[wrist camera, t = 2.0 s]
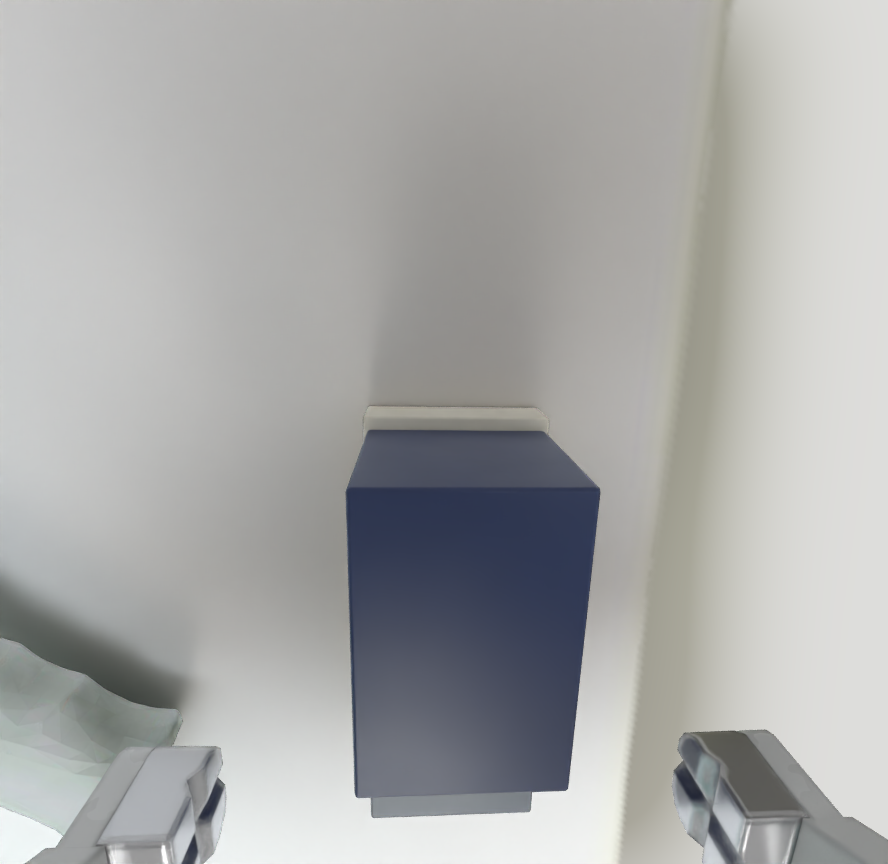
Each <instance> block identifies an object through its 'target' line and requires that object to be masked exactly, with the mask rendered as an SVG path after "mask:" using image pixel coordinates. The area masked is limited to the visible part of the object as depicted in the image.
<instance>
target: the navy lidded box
mask: <svg viewBox="0 0 888 864" xmlns="http://www.w3.org/2000/svg"><path fill="white" fill-rule="evenodd" d="M548 429H549V418H548V417H547V416H546V415H545V414H543V413H542V412H541V411H540V410H539V409H538V408H507V407H410V406H369V407H368V408H367V410H366V412H365V415H364V417H363V445H362V448H361V451H360V453H359V456H358V459H357V462H356V464H355V467H354V470H353V473H352V475H351V478H350V481H349V484H348V486H347V489H346V520H347V553H348V586H349V619H350V652H351V685H352V718H353V751H354V784H355V795H356V797H357V798H371V815H372V817H373V818H384V817H411V816H438V815H464V814H491V813H517V812H530V810H531V799H532V792H546V791H566V790H567V789H568V784H569V774H570V765H571V756H572V747H573V738H574V729H575V720H576V710H577V701H578V692H579V683H580V674H581V665H582V656H583V646H584V637H585V628H586V619H587V610H588V601H589V591H590V582H591V573H592V564H593V555H594V546H595V537H596V527H597V518H598V509H599V500H600V489H599V487H598V486H597V485H596V484H595V483H594V482H593V481H592V480H591V479H590V478H589V477H588V476H587V475H586V474H585V473H584V472H583V471H582V470H581V469H580V468H579V467H578V466H577V465H576V464H575V463H574V462H573V461H572V460H571V459H570V457H569V456H568V455H567V454H566V453H565V452H564V451H563V450H562V449H561V448H560V447H559V446H558V445H557V444H556V443H555V442H554V441H553V440H552V439H551V438H550V437H549V436H548Z"/></svg>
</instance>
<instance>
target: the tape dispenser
mask: <svg viewBox="0 0 888 864" xmlns="http://www.w3.org/2000/svg"><path fill="white" fill-rule="evenodd" d="M182 722H183V720H182V717H181V714H180V712H179V711H178V710H177V709H167V708H154V707H150V706H146V705H142V704H138V703H133V702H130V701H128V700H126V699H124V698H122V697H120V696H118V695H116V694H114V693H112V692H110V691H108V690H106V689H105V688H103V687H102V686H101V685H99V684H98V683H96V682H95V681H94V680H92V679H91V678H90V677H88V676H87V675H86V674H82V673H79V672H75V671H72V670H68V669H65V668H62V667H60V666H58V665H56V664H53V663H51V662H49V661H47V660H44V659H42V658H40V657H38V656H37V655H36V654H34V653H33V652H31V651H30V650H29V649H27V648H26V647H25V646H23V645H22V644H21V643H19V642H15V641H11V640H7V639H4V638H1V637H0V807H3V808H5V809H8V810H10V811H13V812H15V813H18V814H21V815H23V816H26V817H28V818H30V819H32V820H35V821H37V822H39V823H41V824H43V825H46V826H48V827H50V828H52V829H54V830H56V831H57V832H59V833H60V834H61V835H62V836H64V834H65V833H66V831H67V830H68V828H69V827H70V825H71V824H72V822H73V821H74V819H75V818H76V816H77V815H78V813H79V812H80V810H81V809H82V807H83V806H84V804H85V803H86V801H87V800H88V798H89V797H90V795H91V794H92V792H93V791H94V789H95V788H96V786H97V785H98V783H99V782H100V780H101V779H102V777H103V776H104V774H105V773H106V771H107V770H108V768H109V767H110V765H111V764H112V762H113V761H114V759H115V758H116V756H117V755H118V754H119V753H120V752H122V751H123V750H124V749H125V748H126V747H157V746H173V744H174V741H175V739H176V736H177V734H178V731H179V729H180V726H181V724H182Z"/></svg>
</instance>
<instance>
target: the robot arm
mask: <svg viewBox="0 0 888 864" xmlns="http://www.w3.org/2000/svg"><path fill="white" fill-rule="evenodd" d="M678 752H679V754H680V755H681V757H682V759H683V761H682V762H681V763H680V764H679V765H678V767H677V768H676V769H675V770H674V774H673V783H672V789H673V796H674V802H675V806H676V809H677V812H678V814H679V818H680V820H681V822H682V824H683V826H684V828H685V830H686V832H687V834H688V835H689V836H690V837H692V838H693V839H694V840H695V841H696V842H698V843H699V844H700V845H701V846H702V847H703V848H704V850H703V859H702V863H703V864H888V840H887V839H886V838H884V837H883V836H881V835H879V834H878V833H876V832H875V831H873V830H872V829H870V828H868V827H867V826H865V825H864V824H862V823H861V822H859V821H857V820H856V819H854V818H853V817H843V816H842V815H841V814H840V813H839V811H838V810H837V809H836V808H835V807H834V806H833V804H832V803H831V802H830V801H829V800H828V798H827V797H826V796H825V795H824V794H823V793H822V791H821V790H820V789H819V788H818V787H817V785H816V784H815V783H814V782H813V781H812V779H811V778H810V777H809V776H808V775H807V774H806V772H805V771H804V770H803V769H802V768H801V767H800V765H799V764H798V763H797V762H796V760H795V759H794V758H793V757H792V756H791V754H790V753H789V752H788V751H787V750H786V749H785V747H784V746H783V745H782V744H781V743H780V741H779V740H778V739H777V738H776V737H775V736H774V735H773V734H771V733H770V732H769V731H767V730H745V731H715V732H693V733H692V732H691V733H684V734H683V735H682V736H681V738H680V739H679V745H678ZM222 765H223V761H222V754H221V748H219V747H216V746H157V747H126V748H125V749H124V750H123V751H122V752H120V753H119V754H118V755H117V756H116V758H115V759H114V761H113V762H112V764H111V765H110V767H109V768H108V770H107V771H106V773H105V774H104V776H103V777H102V779H101V780H100V782H99V783H98V785H97V786H96V788H95V789H94V791H93V792H92V794H91V795H90V797H89V798H88V800H87V801H86V803H85V804H84V806H83V807H82V809H81V810H80V812H79V813H78V815H77V816H76V818H75V819H74V821H73V822H72V824H71V825H70V827H69V828H68V830H67V831H66V833H65V834H64V836H63V837H62V839H61V840H60V842H59V843H58V845H57V846H56V848H45V849H44V850H42V851H41V852H40V853H38V854H37V855H36V856H35V857H33V858H32V859H31V860H29V861H28V862H27V863H25V864H204V863H205V862H206V861H207V860H208V859H209V858H210V857H211V856H212V855H213V854H214V851H215V849H216V846H217V843H218V840H219V837H220V834H221V830H222V825H223V821H224V816H225V809H226V788H225V784H224V783H223V782H222V781H221V780H220V779H219V778H218V775H219V772H220V770H221V767H222Z"/></svg>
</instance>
